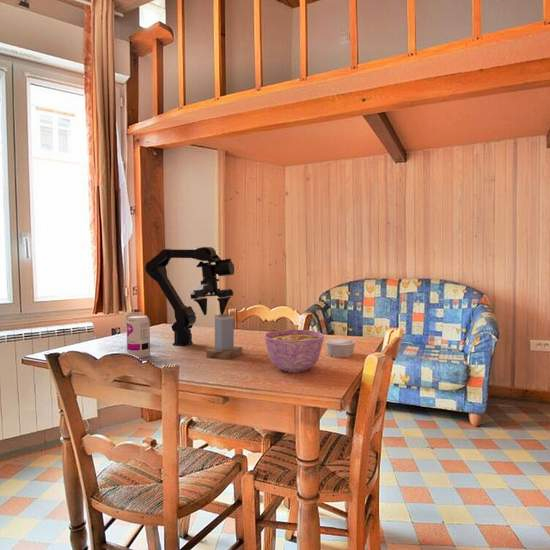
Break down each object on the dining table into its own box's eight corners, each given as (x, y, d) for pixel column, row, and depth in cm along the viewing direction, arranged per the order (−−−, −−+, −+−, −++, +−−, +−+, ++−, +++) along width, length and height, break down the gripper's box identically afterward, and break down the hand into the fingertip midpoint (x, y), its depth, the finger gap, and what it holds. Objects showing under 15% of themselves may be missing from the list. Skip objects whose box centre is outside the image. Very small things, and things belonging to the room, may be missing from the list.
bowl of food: (320, 361, 160) (320, 329, 159) (328, 377, 140) (328, 340, 139) (264, 362, 159) (264, 329, 158) (264, 378, 139) (263, 341, 138)
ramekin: (352, 359, 162) (352, 345, 162) (322, 357, 166) (322, 343, 165) (356, 352, 173) (356, 339, 173) (328, 351, 176) (328, 337, 176)
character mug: (148, 343, 191) (147, 313, 190) (132, 346, 186) (131, 315, 186) (136, 340, 199) (135, 311, 198) (120, 342, 194) (120, 312, 193)
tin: (214, 347, 170) (214, 315, 169) (226, 345, 173) (227, 313, 172) (221, 351, 166) (221, 317, 165) (233, 348, 169) (234, 316, 168)
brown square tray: (206, 358, 167) (206, 350, 167) (219, 352, 176) (219, 345, 176) (230, 360, 163) (230, 352, 163) (242, 354, 172) (242, 347, 172)
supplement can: (129, 359, 163) (128, 319, 163) (125, 355, 171) (124, 316, 170) (152, 357, 167) (151, 317, 166) (147, 352, 174) (146, 314, 174)
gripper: (179, 280, 183) (183, 318, 183) (214, 277, 173) (218, 317, 173) (197, 278, 192) (201, 314, 193) (232, 275, 182) (236, 313, 183)
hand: (213, 314), depth 185 cm, fingers open, 9 cm apart
